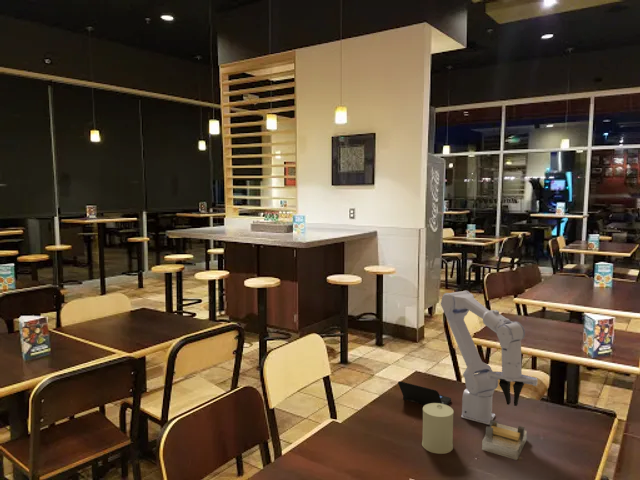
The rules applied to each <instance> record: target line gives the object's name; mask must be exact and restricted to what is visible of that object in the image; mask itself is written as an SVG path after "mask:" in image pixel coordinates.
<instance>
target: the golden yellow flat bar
mask: <svg viewBox="0 0 640 480" xmlns="http://www.w3.org/2000/svg"><path fill="white" fill-rule="evenodd" d="M491 428H493V434H495V435H499V436H503V437H506V438H510V439H514V440H517V441H518V439H519V437H520V433H518V432H514V431H510V430H507V429H503V428H499V427H495V426H491Z"/></svg>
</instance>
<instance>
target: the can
mask: <svg viewBox="0 0 640 480" xmlns="http://www.w3.org/2000/svg"><path fill="white" fill-rule="evenodd" d="M454 413H455V412H454V409H453V408H452V407H451V406H449V404H448V405H445V404H441V403H430V404H426V405H423V407H422V442H421V445H422V447H423V448H424V449H425V450H426V451H427V452H430V453H433V454H437V455H442V454H448V453H451V451H453V449H454V445H453V442H454V441H453V440H454V439H453V436H454V435H453V433H454V428H453V427H454Z"/></svg>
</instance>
